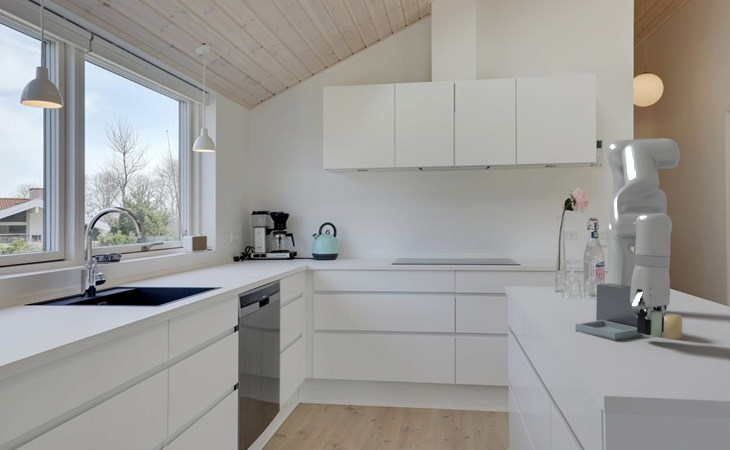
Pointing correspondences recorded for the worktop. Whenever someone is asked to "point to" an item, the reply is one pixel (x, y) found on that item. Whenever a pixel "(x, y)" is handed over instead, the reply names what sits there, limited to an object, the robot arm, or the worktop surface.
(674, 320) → the tan rounded capsule
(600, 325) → the tray
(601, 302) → the panel
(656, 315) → the mint green rounded cylinder
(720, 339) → the worktop surface
